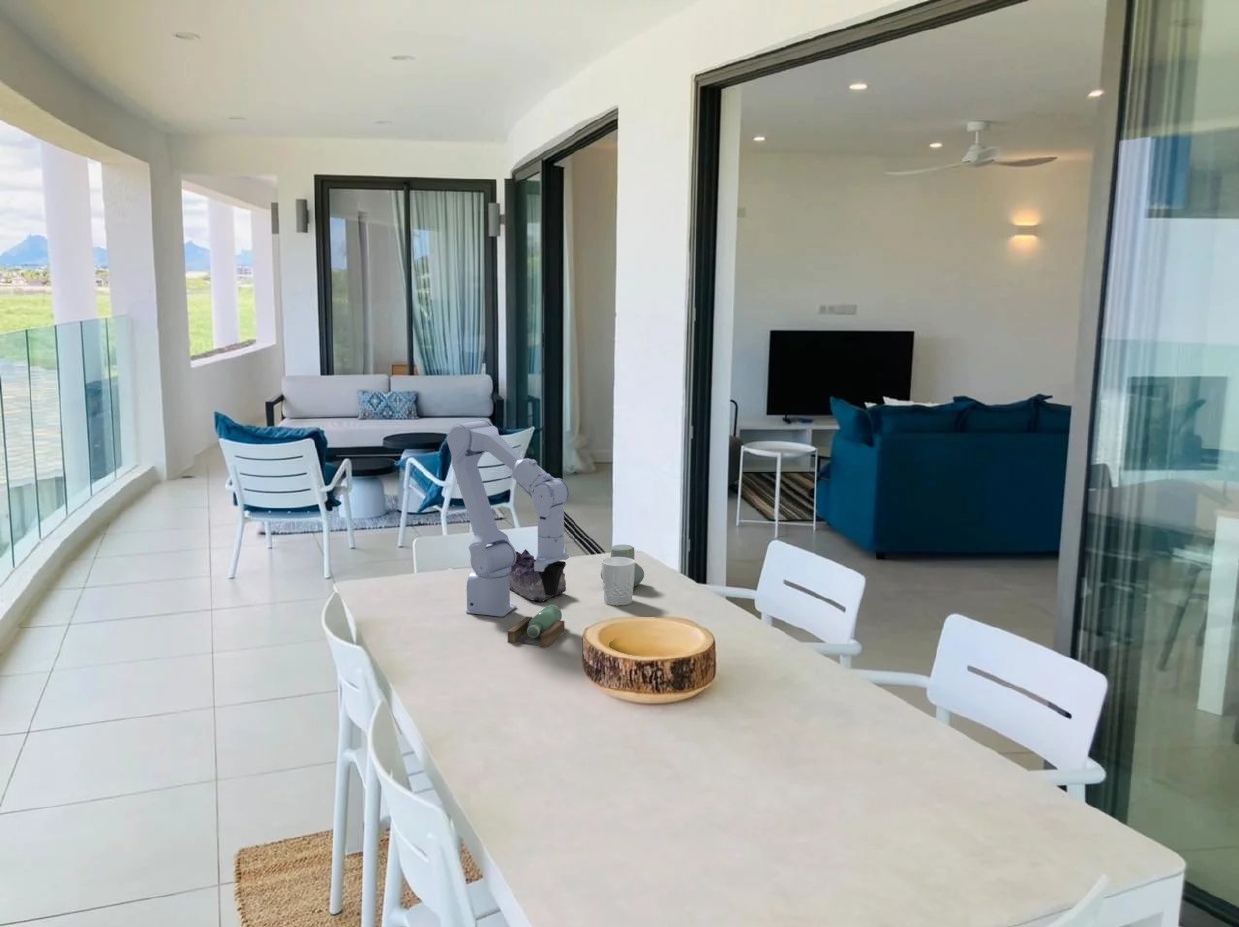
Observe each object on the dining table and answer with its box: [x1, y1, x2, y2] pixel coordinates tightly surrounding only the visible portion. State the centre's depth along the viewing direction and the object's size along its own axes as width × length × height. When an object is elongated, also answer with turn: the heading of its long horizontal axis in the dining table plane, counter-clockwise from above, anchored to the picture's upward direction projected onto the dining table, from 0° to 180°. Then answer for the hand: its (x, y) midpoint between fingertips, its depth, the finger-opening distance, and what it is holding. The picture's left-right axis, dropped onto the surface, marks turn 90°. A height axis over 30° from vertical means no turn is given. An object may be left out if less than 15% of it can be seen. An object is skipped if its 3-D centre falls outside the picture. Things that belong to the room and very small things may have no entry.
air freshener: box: [600, 544, 645, 587], centre depth 254 cm, size 11×8×10 cm
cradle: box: [507, 616, 565, 648], centre depth 216 cm, size 9×10×2 cm
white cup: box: [601, 556, 636, 607], centre depth 240 cm, size 8×8×10 cm
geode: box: [509, 548, 567, 602], centre depth 249 cm, size 20×12×10 cm, turn 38°
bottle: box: [527, 604, 563, 638], centre depth 218 cm, size 4×4×12 cm
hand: (550, 594), depth 223 cm, fingers closed
